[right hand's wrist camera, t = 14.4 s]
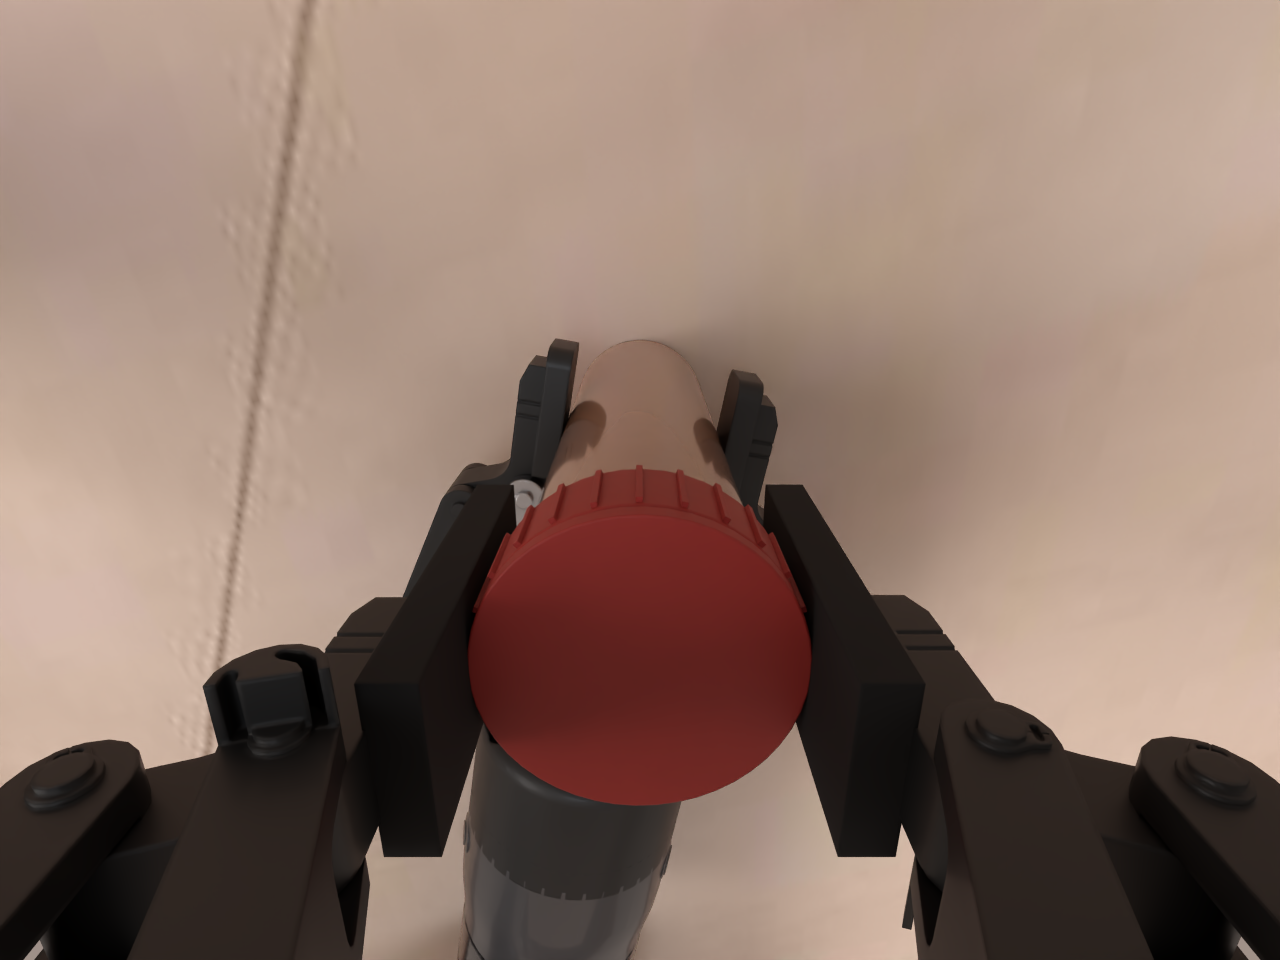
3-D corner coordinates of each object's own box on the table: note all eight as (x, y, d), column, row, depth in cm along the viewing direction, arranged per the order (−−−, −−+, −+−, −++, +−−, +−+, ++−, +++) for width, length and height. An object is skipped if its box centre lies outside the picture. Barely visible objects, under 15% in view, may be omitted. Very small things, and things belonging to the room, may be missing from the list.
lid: (847, 634, 12) (883, 706, 11) (610, 771, 14) (605, 858, 12) (677, 399, 11) (684, 436, 9) (425, 576, 12) (386, 640, 10)
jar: (723, 416, 27) (841, 687, 11) (624, 480, 27) (604, 813, 12) (656, 314, 25) (682, 462, 10) (555, 385, 26) (430, 622, 11)
